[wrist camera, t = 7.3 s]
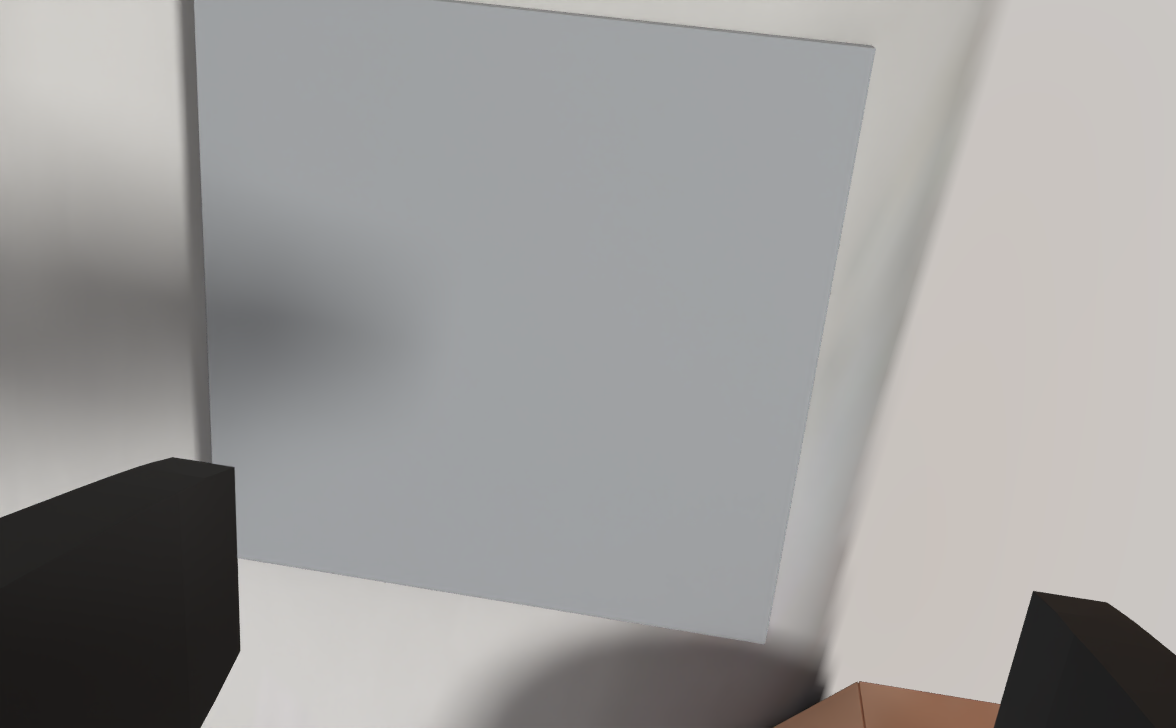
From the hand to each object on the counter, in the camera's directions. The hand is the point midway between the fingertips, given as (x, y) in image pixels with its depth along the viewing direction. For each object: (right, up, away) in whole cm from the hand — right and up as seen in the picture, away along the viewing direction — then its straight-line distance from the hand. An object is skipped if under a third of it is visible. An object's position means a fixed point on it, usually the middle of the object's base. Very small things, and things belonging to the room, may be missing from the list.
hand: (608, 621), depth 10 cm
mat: (-2, +3, +10) cm, 10 cm away
